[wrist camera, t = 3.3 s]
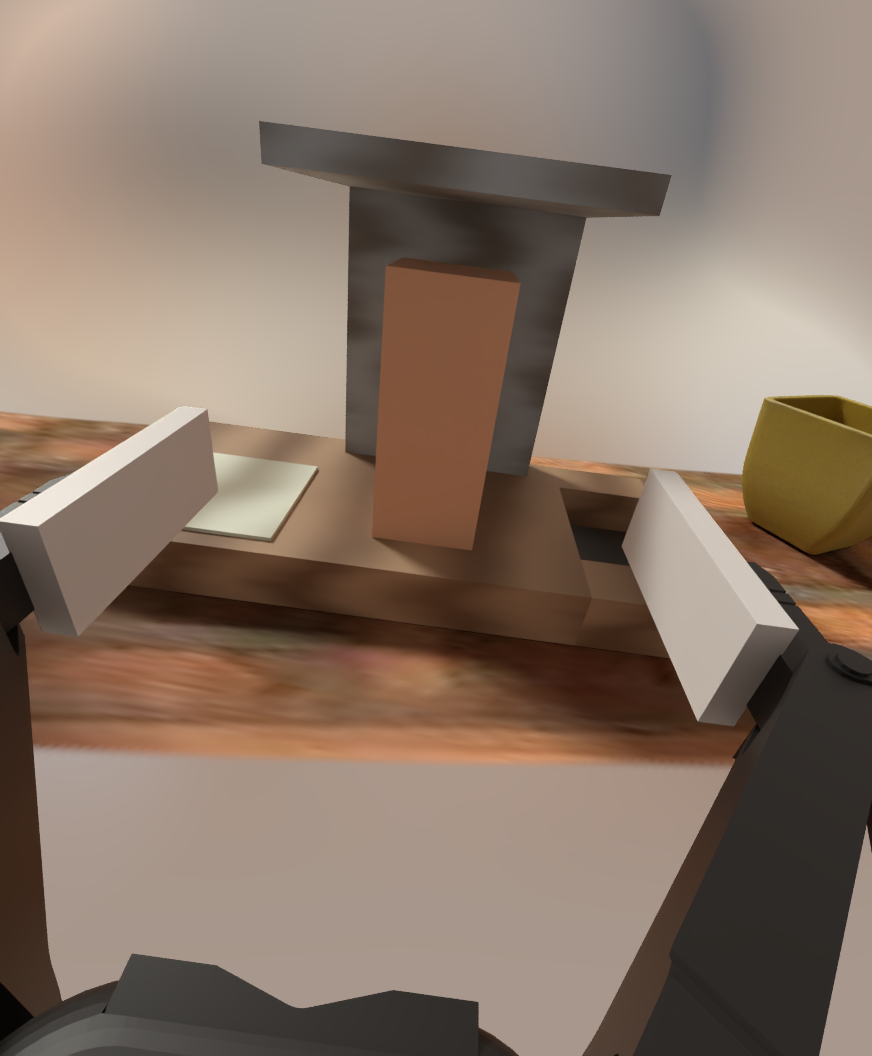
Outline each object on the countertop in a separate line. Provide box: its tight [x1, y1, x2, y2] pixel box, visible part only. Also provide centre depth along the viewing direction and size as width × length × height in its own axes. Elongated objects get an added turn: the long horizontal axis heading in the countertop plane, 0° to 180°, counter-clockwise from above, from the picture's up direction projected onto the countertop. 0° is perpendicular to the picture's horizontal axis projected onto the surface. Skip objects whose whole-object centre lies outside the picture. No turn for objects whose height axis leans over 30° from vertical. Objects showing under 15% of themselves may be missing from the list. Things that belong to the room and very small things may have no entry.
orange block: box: [372, 257, 521, 551], centre depth 24 cm, size 5×5×12 cm
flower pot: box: [742, 395, 872, 555], centre depth 34 cm, size 9×9×9 cm
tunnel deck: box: [129, 121, 671, 658], centre depth 25 cm, size 32×14×18 cm, turn 86°
